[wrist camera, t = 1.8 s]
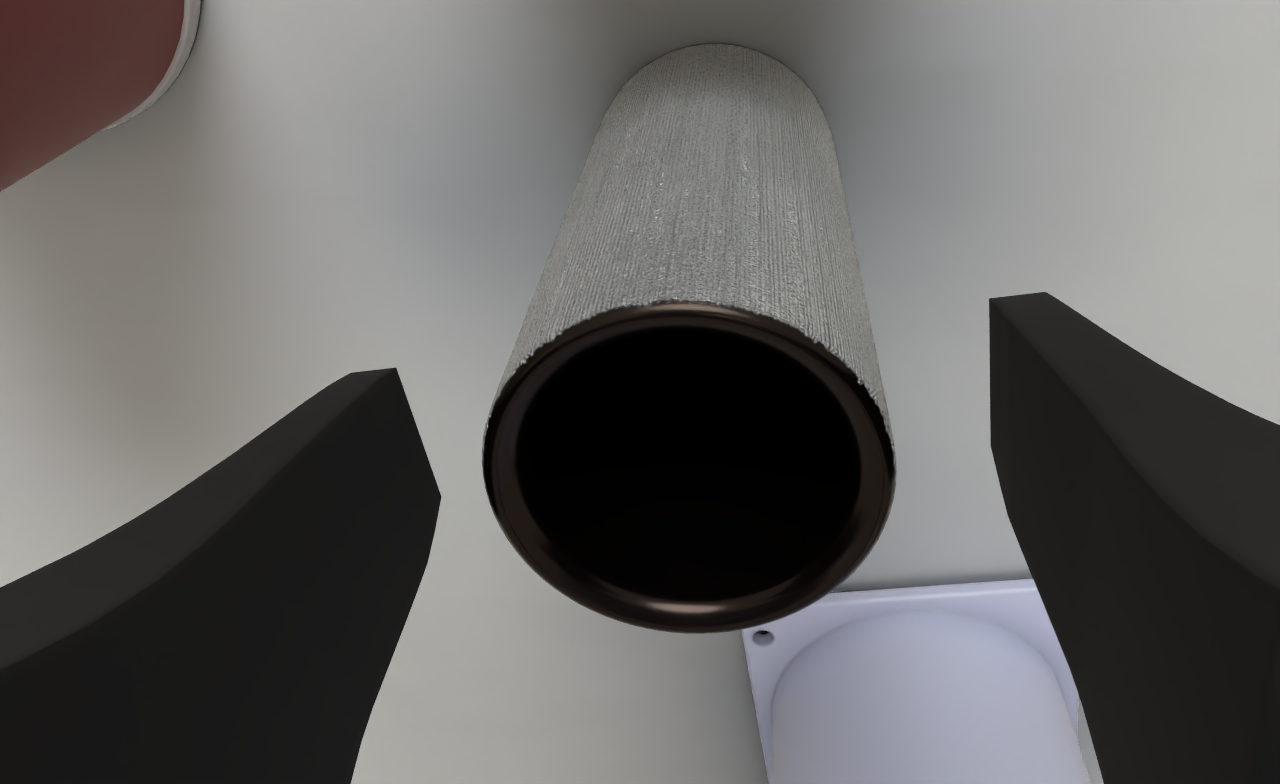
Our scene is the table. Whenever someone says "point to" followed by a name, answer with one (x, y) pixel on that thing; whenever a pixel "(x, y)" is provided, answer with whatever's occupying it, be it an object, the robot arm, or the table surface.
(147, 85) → the tall can
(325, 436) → the robot arm
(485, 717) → the table surface
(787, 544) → the planter
